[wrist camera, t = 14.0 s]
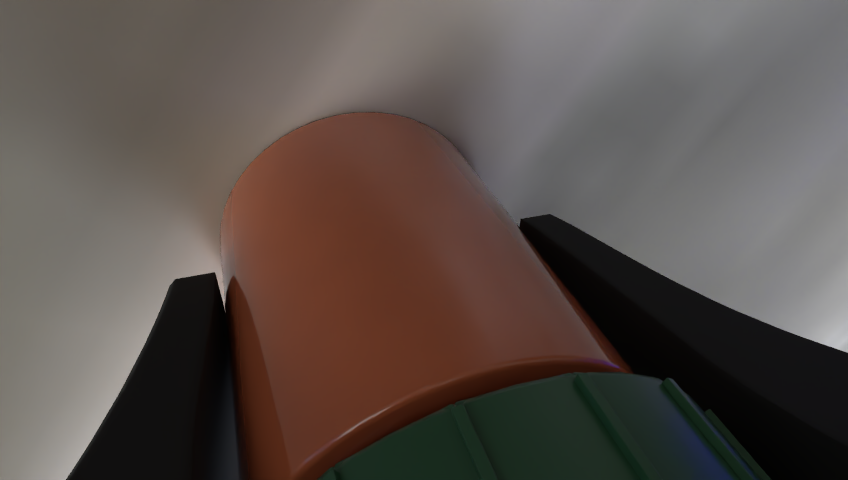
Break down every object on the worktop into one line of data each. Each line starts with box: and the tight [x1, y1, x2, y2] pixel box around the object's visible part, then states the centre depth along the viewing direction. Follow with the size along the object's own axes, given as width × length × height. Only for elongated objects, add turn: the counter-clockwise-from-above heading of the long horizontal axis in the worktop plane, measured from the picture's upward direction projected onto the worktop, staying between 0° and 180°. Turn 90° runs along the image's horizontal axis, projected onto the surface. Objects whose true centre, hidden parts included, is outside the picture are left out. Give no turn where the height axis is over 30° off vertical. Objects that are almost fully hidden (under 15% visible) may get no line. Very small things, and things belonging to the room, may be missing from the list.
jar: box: [220, 112, 635, 480], centre depth 9 cm, size 5×5×8 cm
